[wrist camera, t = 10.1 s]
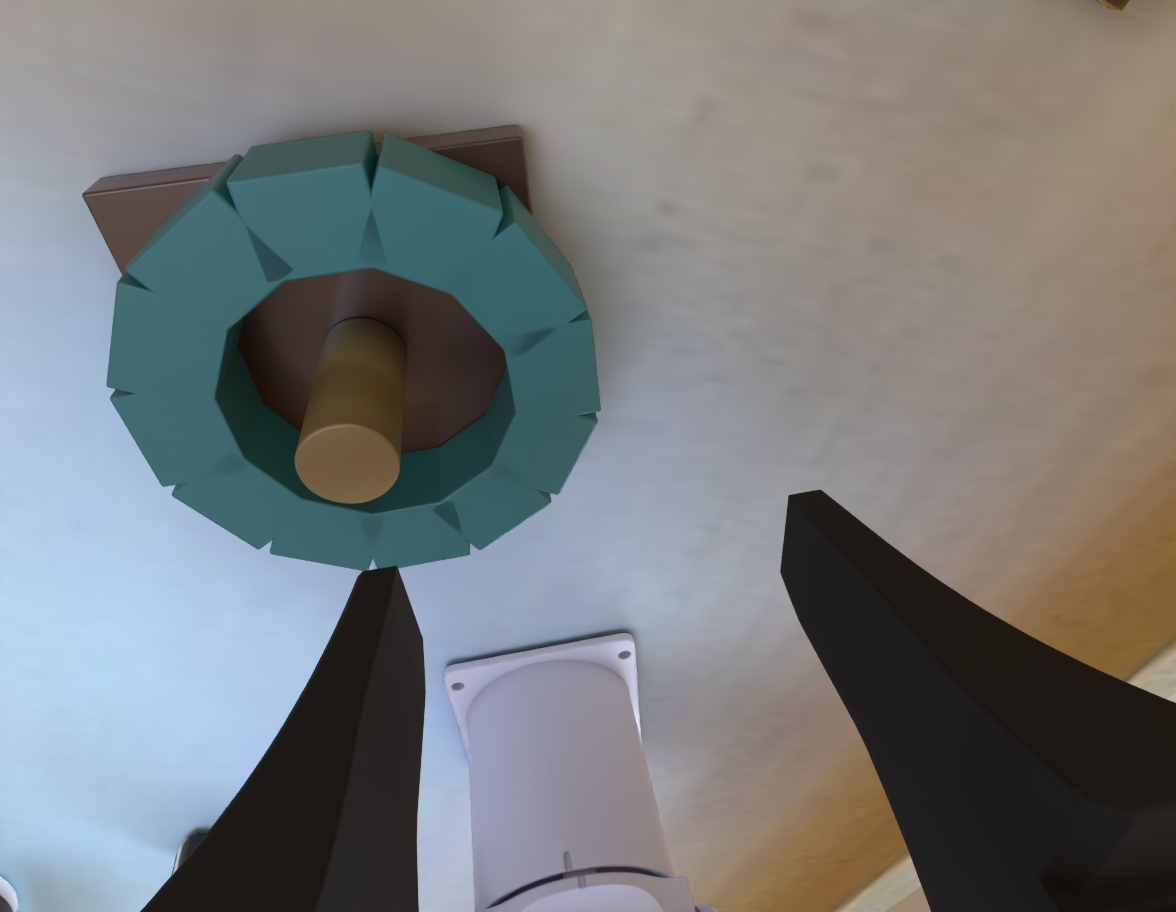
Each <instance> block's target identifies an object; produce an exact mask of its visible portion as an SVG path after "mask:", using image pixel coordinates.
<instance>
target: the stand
mask: <svg viewBox="0 0 1176 912" xmlns="http://www.w3.org/2000/svg"><path fill="white" fill-rule="evenodd" d="M404 140H406V141H409V142H411V143H413V144H416V145H418V146H421V147H423V148H426V149H428V150H431V151H433V152H436V153H438V154H441V155H443V156H446V157H448V158H451V159H453V160H456V161H458V162H460V163H463V164H465V165H468V166H470V167H473V168H475V169H478V170H480V171H483V172H485V173H488V174H490V175H493V176H494V177H495V178H496V182H497V187H498V191H499V190H500V189H502V188H503V187H504V186H505V185H508V186H509V187H510V189H511V190H512V191H513V192H514V194H515V195H516V196H517V198H518V199H519V200H520V201H521V203H522V204H523V205H524V206H525V208H526V209H527V210H528V211H529V213H530V214H531V215H532V207H531V199H530V191H529V183H528V176H527V168H526V160H525V152H524V144H523V138H522V135H521V132H520V130H519V127H518V125H509V126H502V127H494V128H486V129H478V130H471V131H463V132H455V133H447V134H439V135H432V136H424V137H416V138H408V139H404ZM381 143H382V142H377V143H375V146H376V150H377V154H379V150H380V147H381ZM226 163H227V162H222V163H214V164H206V165H198V166H191V167H183V168H175V169H167V170H160V171H152V172H144V173H136V174H128V175H121V176H113V177H105V178H100V179H99V180H98V181H97V182H95V183H94V184H93V185H92V186H91V187H90V188H88V189H87V190H86V191H85V192H84V193H82V195H83V198H84V200H85V202H86V204H87V206H88V208H89V210H90V212H91V214H92V216H93V218H94V220H95V222H96V224H97V226H98V228H99V230H100V232H101V234H102V236H103V238H104V240H105V242H106V244H107V246H108V248H109V250H110V252H111V254H112V256H113V258H114V259H115V261H116V263H117V265H118V267H119V269H120V271H121V273H122V275H124V274H125V272H126V266H127V265H128V264H129V262H130V261H131V260H132V259H133V258H134V256H135V255H136V254H137V253H138V251H139V250H140V249H141V248H142V247H143V245H144V244H145V243H146V242H147V241H148V239H149V238H150V237H151V236H152V235H153V233H154V232H155V231H156V230H157V229H158V227H159V226H160V225H161V224H162V223H163V222H164V221H165V220H166V219H167V218H168V217H169V216H171V215H172V214H173V213H174V212H175V211H176V210H177V209H178V208H179V207H180V206H181V205H182V204H183V203H184V202H186V201H187V200H188V199H189V198H190V197H191V196H192V195H193V194H194V193H195V192H196V191H197V190H198V189H199V188H200V187H202V186H203V185H204V184H205V183H206V182H207V181H208V180H209V179H210V178H211V177H212V176H213V175H214V174H215V173H217V172H218V171H219V170H220V169H221V168H222V167H223V166H224V165H225V164H226ZM532 216H533V215H532ZM238 347H239V350H240V352H241V354H242V356H243V359H244V361H245V363H246V365H247V368H248V370H249V372H250V374H251V377H252V379H253V381H254V384H255V386H256V388H257V390H258V393H259V395H260V397H261V399H262V402H263V403H264V404H265V405H266V406H268V407H269V408H270V409H272V410H273V411H274V412H275V413H277V414H278V415H279V416H281V417H282V418H283V419H285V420H286V421H287V422H289V423H290V424H291V425H292V426H294V427H295V428H296V429H298V430H299V431H300V432H301V433H300V437H299V441H298V445H297V449H296V453H295V468H296V471H297V473H298V475H299V477H300V479H301V480H302V482H303V483H304V484H305V485H306V486H307V488H309V489H310V490H311V491H312V492H314V493H315V494H317V495H319V496H321V497H323V498H325V499H328V500H330V501H334V502H339V503H362V502H366V501H370V500H373V499H375V498H377V497H379V496H381V495H383V494H384V493H385V492H387V491H388V490H389V489H390V488H391V487H392V486H393V484H394V483H395V481H396V480H397V478H398V475H399V472H400V461H401V454H402V453H408V452H414V451H420V450H425V449H431V448H437V447H441V446H442V445H443V444H445V443H446V442H448V441H449V440H450V439H452V438H453V437H454V436H456V435H457V434H459V433H460V432H461V431H463V430H464V429H466V428H467V427H468V426H470V425H471V424H473V423H474V422H475V421H477V420H478V419H479V418H481V417H482V416H484V415H485V414H486V412H487V410H488V408H489V405H490V403H491V401H492V398H493V396H494V394H495V391H496V389H497V387H498V385H499V382H500V380H501V378H502V375H503V373H504V371H505V368H506V366H507V365H506V360H505V354H504V349H503V348H502V347H501V346H500V345H499V344H498V343H497V342H496V341H495V340H494V339H493V338H492V337H491V336H490V335H489V334H488V332H487V331H486V330H485V329H484V328H483V327H482V326H481V325H480V324H479V323H478V322H477V321H476V320H475V319H474V318H473V317H472V316H471V315H470V313H469V312H468V311H467V310H466V309H465V308H464V307H463V306H462V305H461V304H460V303H459V302H458V301H457V300H456V299H455V298H454V297H453V296H452V294H449V293H446V292H443V291H440V290H437V289H434V288H431V287H428V286H425V285H422V284H419V283H416V282H413V281H410V280H407V279H404V278H401V277H398V276H395V275H392V274H389V273H386V272H383V271H380V270H377V269H374V268H367V269H361V270H355V271H348V272H342V273H335V274H329V275H322V276H316V277H309V278H303V279H296V280H290V281H286V282H284V283H283V284H282V285H281V286H280V287H279V288H277V289H276V290H275V291H274V292H273V293H271V294H270V295H269V296H268V297H267V298H266V299H264V300H263V301H262V302H261V303H260V304H259V305H257V306H256V307H255V308H254V309H253V310H252V311H250V312H249V313H248V314H247V315H246V316H244V318H243V322H242V327H241V332H240V337H239V342H238Z"/></svg>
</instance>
